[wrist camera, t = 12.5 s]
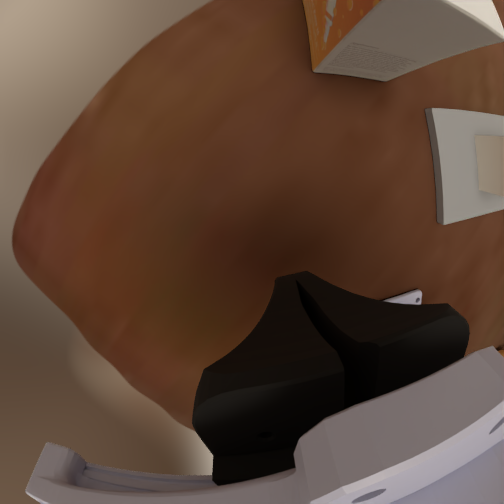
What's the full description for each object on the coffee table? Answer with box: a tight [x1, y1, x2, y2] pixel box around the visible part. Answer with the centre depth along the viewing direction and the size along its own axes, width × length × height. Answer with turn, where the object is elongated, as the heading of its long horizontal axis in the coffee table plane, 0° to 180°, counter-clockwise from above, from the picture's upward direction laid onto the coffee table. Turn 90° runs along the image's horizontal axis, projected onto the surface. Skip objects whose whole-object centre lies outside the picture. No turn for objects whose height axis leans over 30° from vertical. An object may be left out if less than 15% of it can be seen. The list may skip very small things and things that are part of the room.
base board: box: [425, 108, 504, 225], centre depth 18 cm, size 10×16×1 cm, turn 102°
